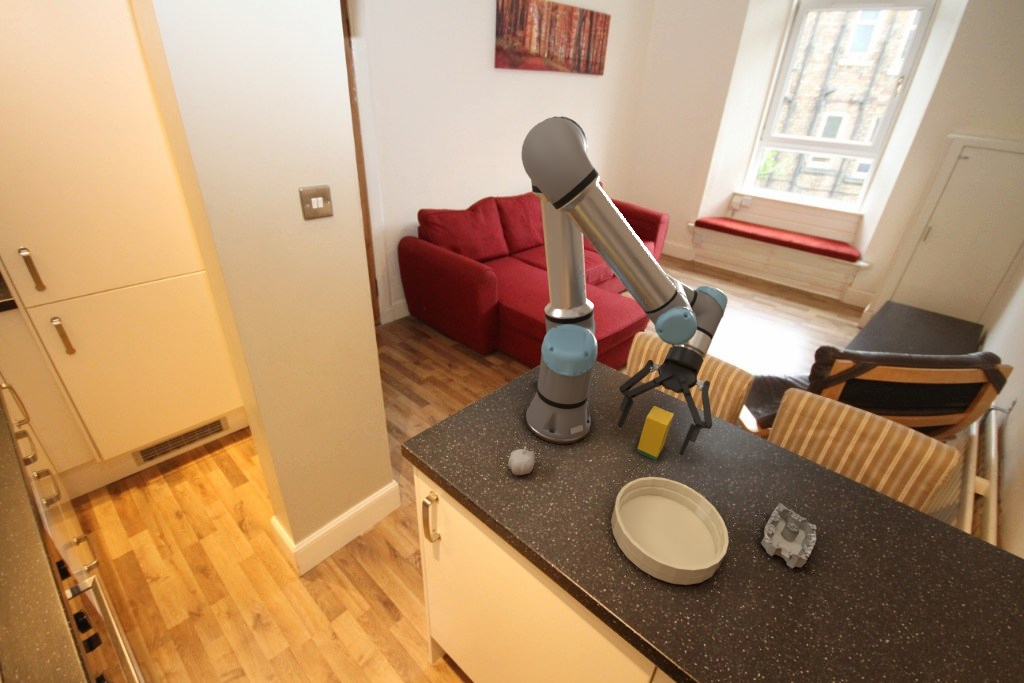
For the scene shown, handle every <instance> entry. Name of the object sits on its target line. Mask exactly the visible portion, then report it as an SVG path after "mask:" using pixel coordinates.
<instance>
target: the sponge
mask: <svg viewBox="0 0 1024 683" xmlns="http://www.w3.org/2000/svg"><path fill="white" fill-rule="evenodd" d="M674 416H675V413H674V412H671V411H668V410H665V409H663V408H660V407H659V406H656V405H653V406H652V408H651V409H650V411H649V412H648V414H647V415H646V417H645V421H644V424H643V427H642V431H641V433H640V434H641V435H640V437H639V442H638V444H637V449H636V453H637V454H640V455H642V456H644V457H647V458H649V459H651V460H652V461H655V462H657V460H658V459H659V457H660V455H661V453H662V451H663V449H664V446H665V443H666V440H667V437H668V434H669V431H670V428H671V425H672V422H673V419H674Z"/></svg>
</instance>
